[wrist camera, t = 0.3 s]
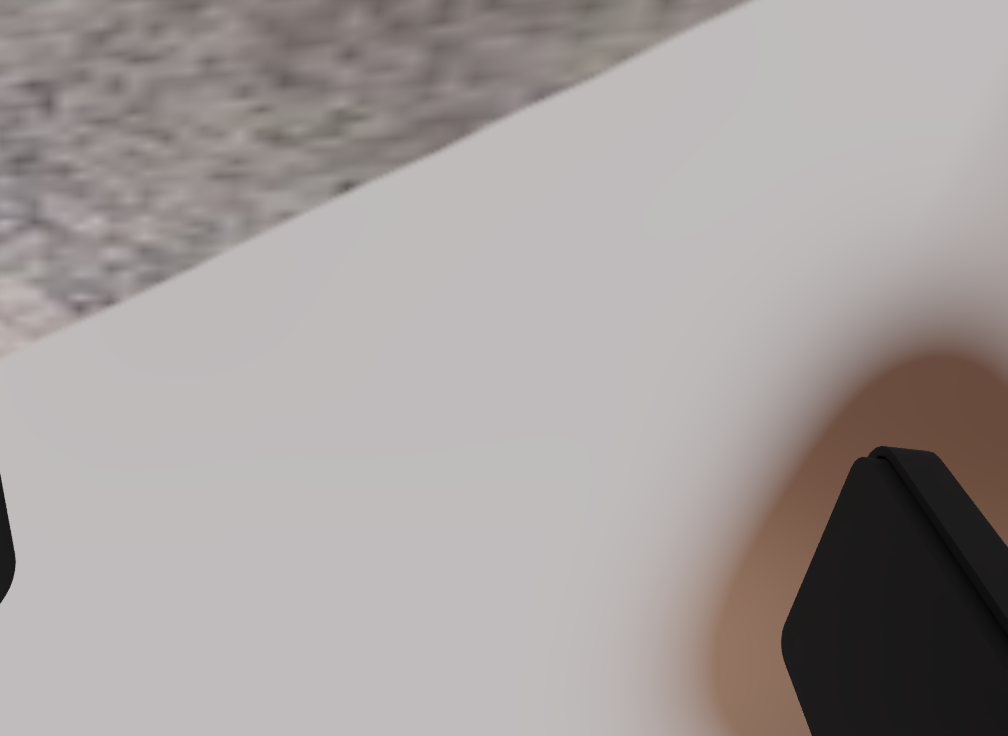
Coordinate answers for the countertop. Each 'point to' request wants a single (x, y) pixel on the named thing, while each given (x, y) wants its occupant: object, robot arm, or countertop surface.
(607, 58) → the countertop surface
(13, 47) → the countertop surface
